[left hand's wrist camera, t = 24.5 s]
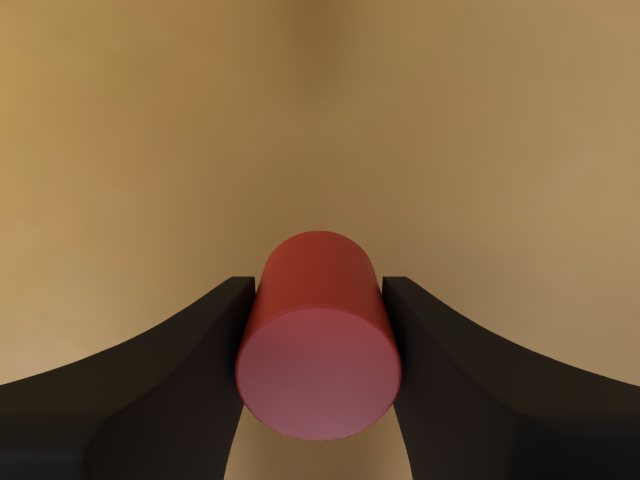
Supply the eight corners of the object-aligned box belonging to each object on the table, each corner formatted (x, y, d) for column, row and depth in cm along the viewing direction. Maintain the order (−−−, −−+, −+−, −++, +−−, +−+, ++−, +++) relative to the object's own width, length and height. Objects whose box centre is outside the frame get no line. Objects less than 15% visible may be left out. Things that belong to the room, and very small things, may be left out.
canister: (398, 274, 12) (438, 367, 8) (327, 349, 13) (330, 466, 9) (308, 206, 11) (303, 270, 7) (240, 290, 12) (200, 389, 8)
